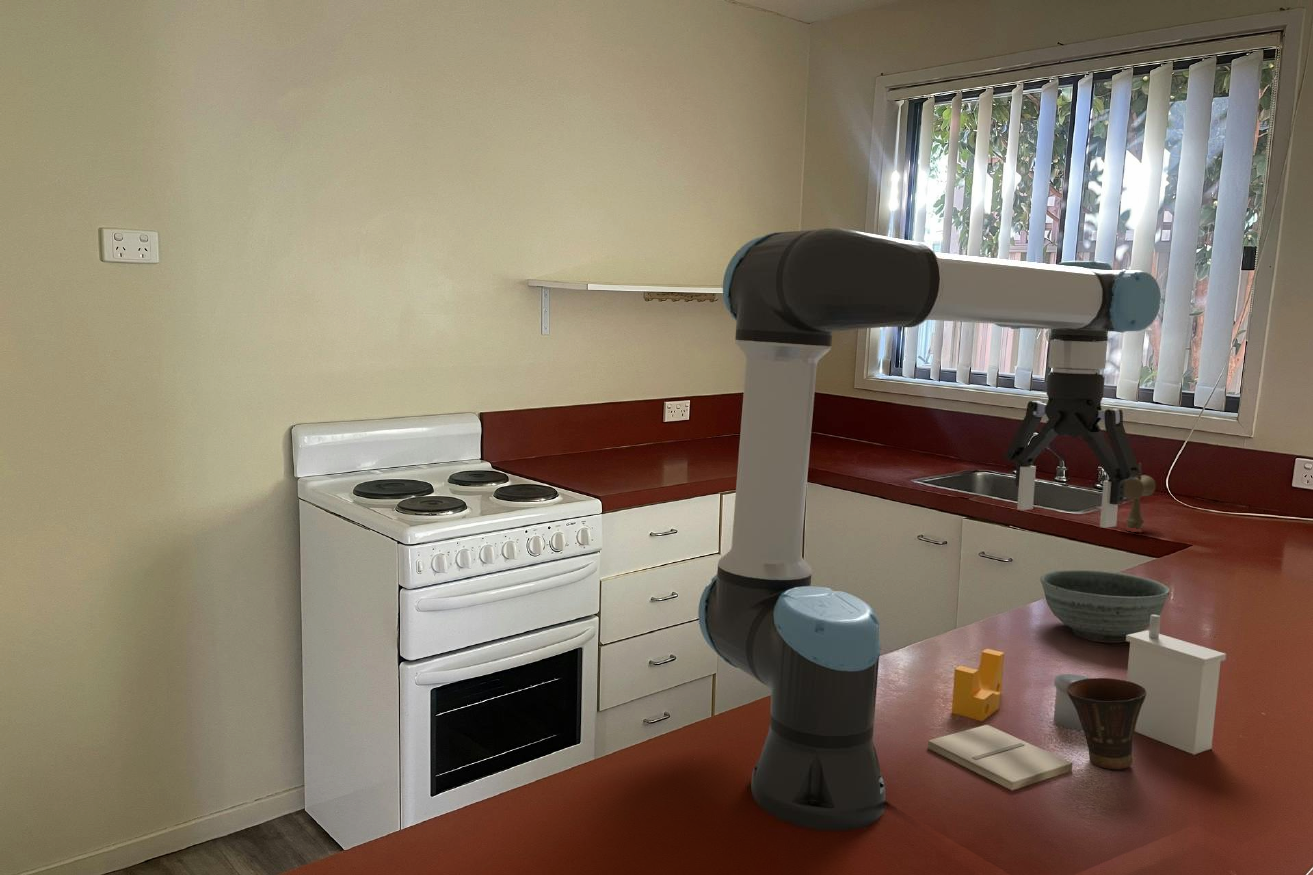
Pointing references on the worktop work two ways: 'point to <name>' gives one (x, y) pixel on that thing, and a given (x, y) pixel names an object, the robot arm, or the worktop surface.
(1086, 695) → the cup
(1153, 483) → the kendama
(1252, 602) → the worktop surface
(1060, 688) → the grey knob
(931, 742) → the board
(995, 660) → the yellow shaft support bracket
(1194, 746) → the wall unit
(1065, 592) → the bowl
